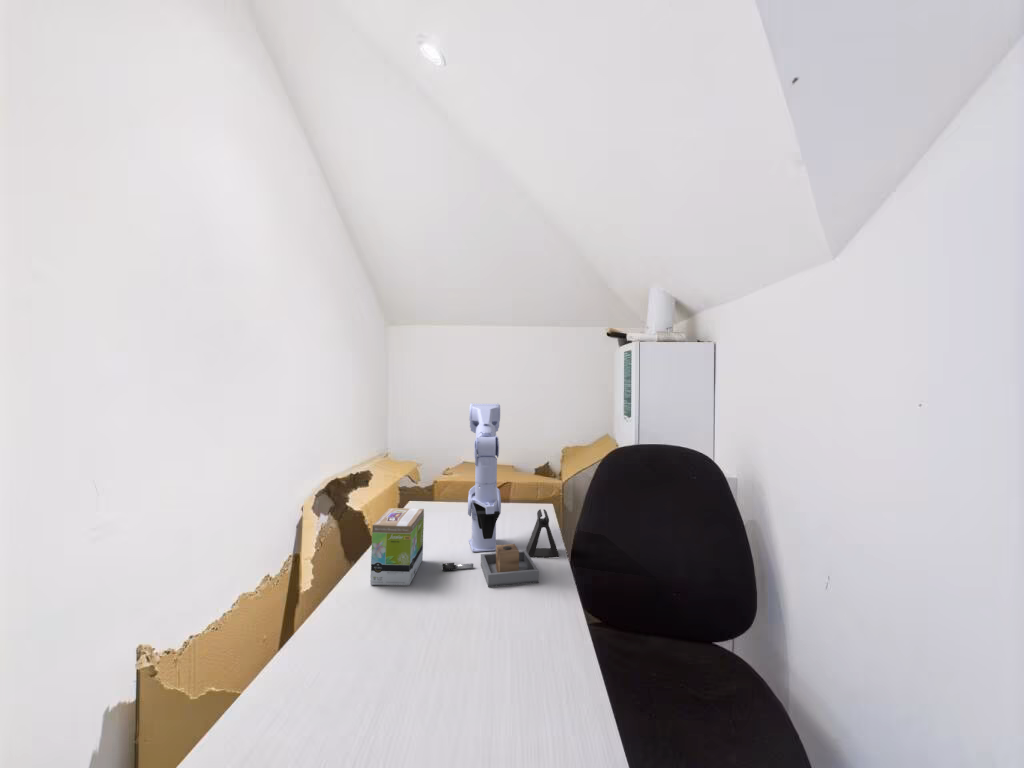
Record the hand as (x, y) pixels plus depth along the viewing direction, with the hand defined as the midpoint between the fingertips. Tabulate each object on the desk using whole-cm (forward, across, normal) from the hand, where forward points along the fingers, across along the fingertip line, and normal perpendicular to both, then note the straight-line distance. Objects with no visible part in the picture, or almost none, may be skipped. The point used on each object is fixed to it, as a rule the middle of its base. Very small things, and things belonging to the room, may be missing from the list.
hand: (485, 533), depth 112 cm
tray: (+9, +4, +6) cm, 12 cm away
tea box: (+10, -2, -22) cm, 24 cm away
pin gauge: (+9, -1, -8) cm, 12 cm away
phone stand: (+10, -7, +18) cm, 22 cm away
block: (+9, +4, +5) cm, 11 cm away
